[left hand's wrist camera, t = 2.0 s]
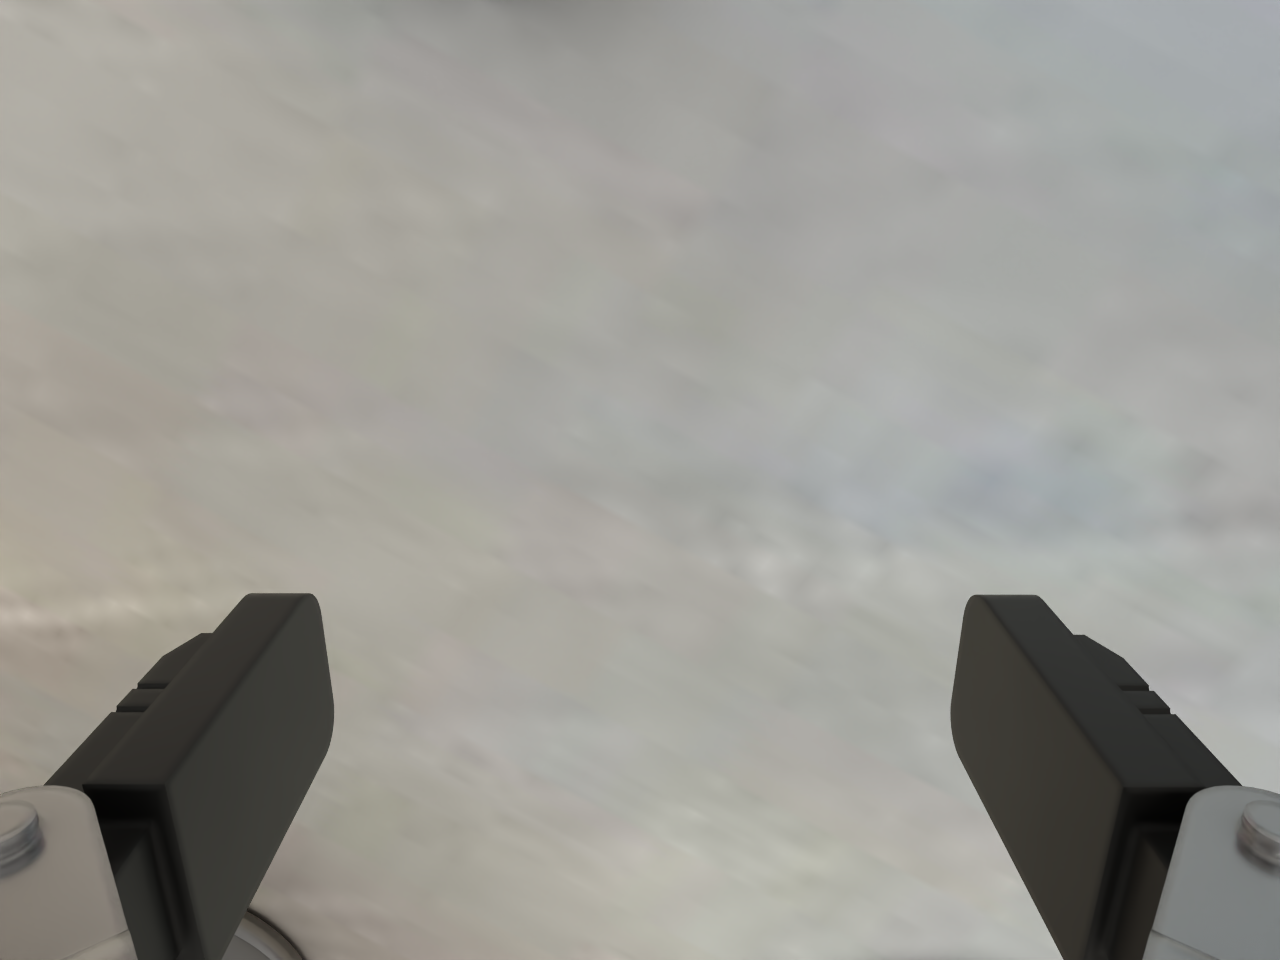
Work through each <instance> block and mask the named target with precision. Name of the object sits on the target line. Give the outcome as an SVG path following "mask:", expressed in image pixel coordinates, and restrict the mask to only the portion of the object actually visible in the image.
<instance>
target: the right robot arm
mask: <svg viewBox="0 0 1280 960" xmlns="http://www.w3.org/2000/svg"><path fill="white" fill-rule="evenodd" d="M222 960H303V959H302V958H301V956H300V955H299V954H298V952H297V951H296V950H295V949H294V948H293V946H292V945H291V944H290V943H289V942H288V941H287V940H286V939H285V938H284V937H283V936H282V935H281V934H280V933H279V932H277V931H276V930H275V929H274V928H272V927H271V926H270V925H268V924H267V923H265V922H264V921H262V920H261V919H260V918H258V917H256V916H255V915H253V914H251V913H249V912H248V911H246V912H245V914H244V916H243V918H242V920H241V922H240V924H239V926H238V928H237V930H236V932H235V934H234V936H233V938H232V940H231V942H230V944H229V946H228V948H227V950H226V952H225V954H224V956H223V958H222Z"/></svg>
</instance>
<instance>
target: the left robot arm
mask: <svg viewBox="0 0 1280 960" xmlns="http://www.w3.org/2000/svg"><path fill="white" fill-rule="evenodd" d="M333 723H334V701H333V693H332V686H331V679H330V672H329V665H328V658H327V651H326V644H325V637H324V630H323V623H322V616H321V610H320V606H319V603H318V601H317V599H316V597H315V596H314V595H313V594H310V593H251V594H248V595H246V596H245V597H244V598H243V599H242V600H241V601H240V602H239V603H238V604H237V606H236V607H235V608H234V609H233V610H232V611H231V613H230V614H229V615H228V616H227V617H226V618H225V619H224V621H223V622H222V623H221V624H220V625H219V626H218V628H217V629H216V630H215V631H214V632H213V633H201V634H199V635H198V636H196V637H194V638H193V639H191V640H189V641H188V642H186V643H184V644H183V645H181V646H179V647H178V648H176V649H174V650H173V651H171V652H169V653H168V654H166V655H164V656H163V657H162V658H161V659H160V660H159V661H158V662H157V663H156V664H155V665H154V666H153V667H152V669H151V670H150V671H149V672H148V673H147V674H146V675H145V676H144V677H143V678H142V679H141V680H140V682H139V683H138V687H137V689H132V690H131V691H130V692H129V693H128V695H127V696H126V697H125V698H124V699H123V700H122V701H121V702H120V703H119V704H118V705H117V710H116V712H111V713H110V714H109V715H108V716H107V717H106V718H105V719H104V721H103V722H102V723H101V724H100V725H99V726H98V727H97V728H96V729H95V730H94V731H93V732H92V734H91V735H90V736H89V737H88V738H87V739H86V740H85V741H84V742H83V743H82V744H81V745H80V747H79V748H78V749H77V750H76V751H75V752H74V753H73V754H72V755H71V756H70V757H69V758H68V759H67V761H66V762H65V763H64V764H63V765H62V766H61V767H60V768H59V769H58V770H57V771H56V772H55V774H54V775H53V776H52V777H51V778H50V779H49V780H48V781H47V782H46V783H45V784H44V785H43V786H35V787H28V788H23V789H18V790H13V791H10V792H6V793H3V794H0V960H222V958H223V956H224V954H225V952H226V950H227V948H228V946H229V944H230V942H231V940H232V938H233V936H234V934H235V932H236V930H237V928H238V926H239V924H240V922H241V920H242V918H243V916H244V914H245V912H246V911H247V909H248V907H249V905H250V903H251V901H252V899H253V897H254V895H255V893H256V891H257V889H258V887H259V885H260V883H261V881H262V879H263V877H264V875H265V873H266V871H267V869H268V867H269V865H270V864H271V862H272V860H273V858H274V856H275V854H276V852H277V850H278V848H279V846H280V844H281V842H282V840H283V838H284V836H285V834H286V832H287V830H288V828H289V826H290V824H291V822H292V820H293V818H294V816H295V815H296V813H297V811H298V809H299V807H300V805H301V803H302V801H303V799H304V797H305V795H306V793H307V791H308V789H309V787H310V785H311V783H312V781H313V779H314V777H315V775H316V773H317V771H318V769H319V768H320V766H321V764H322V762H323V760H324V758H325V756H326V753H327V751H328V748H329V745H330V741H331V737H332V731H333ZM951 728H952V735H953V740H954V744H955V748H956V751H957V753H958V756H959V758H960V760H961V762H962V764H963V766H964V768H965V770H966V771H967V773H968V775H969V777H970V779H971V781H972V783H973V785H974V787H975V789H976V791H977V793H978V795H979V797H980V799H981V801H982V802H983V804H984V806H985V808H986V810H987V812H988V814H989V816H990V818H991V820H992V822H993V824H994V826H995V828H996V830H997V831H998V833H999V835H1000V837H1001V839H1002V841H1003V843H1004V845H1005V847H1006V849H1007V851H1008V853H1009V855H1010V857H1011V859H1012V861H1013V862H1014V864H1015V866H1016V868H1017V870H1018V872H1019V874H1020V876H1021V878H1022V880H1023V882H1024V884H1025V886H1026V888H1027V890H1028V891H1029V893H1030V895H1031V897H1032V899H1033V901H1034V903H1035V905H1036V907H1037V909H1038V911H1039V913H1040V915H1041V917H1042V919H1043V921H1044V922H1045V924H1046V926H1047V928H1048V930H1049V932H1050V934H1051V936H1052V938H1053V940H1054V942H1055V944H1056V946H1057V948H1058V950H1059V952H1060V953H1061V955H1062V957H1063V959H1064V960H1280V794H1277V793H1274V792H1270V791H1267V790H1262V789H1257V788H1252V787H1245V786H1242V785H1241V784H1240V783H1239V782H1238V781H1237V780H1236V779H1235V778H1234V776H1233V775H1232V774H1231V773H1230V772H1229V771H1228V770H1227V769H1226V768H1225V767H1224V766H1223V765H1222V764H1221V763H1220V761H1219V760H1218V759H1217V758H1216V757H1215V756H1214V755H1213V754H1212V753H1211V752H1210V751H1209V750H1208V749H1207V747H1206V746H1205V745H1204V744H1203V743H1202V742H1201V741H1200V740H1199V739H1198V738H1197V737H1196V736H1195V735H1194V734H1193V732H1192V731H1191V730H1190V729H1189V728H1188V727H1187V726H1186V725H1185V724H1184V723H1183V722H1182V721H1181V720H1180V719H1179V717H1178V716H1177V715H1176V714H1171V713H1170V708H1169V707H1168V706H1167V705H1166V703H1165V702H1164V701H1163V700H1162V699H1161V698H1160V697H1159V696H1158V695H1157V694H1156V693H1155V692H1154V691H1149V685H1148V684H1147V683H1146V682H1145V681H1144V680H1143V679H1142V678H1141V677H1140V676H1139V675H1138V673H1137V672H1136V671H1135V670H1134V669H1133V668H1132V667H1131V666H1130V665H1129V664H1128V663H1127V662H1126V661H1125V659H1124V658H1122V657H1120V656H1119V655H1117V654H1115V653H1114V652H1112V651H1110V650H1109V649H1107V648H1105V647H1104V646H1102V645H1100V644H1099V643H1097V642H1095V641H1094V640H1092V639H1090V638H1089V637H1087V636H1085V635H1073V634H1072V633H1071V632H1070V630H1069V629H1068V628H1067V627H1066V626H1065V625H1064V624H1063V622H1062V621H1061V620H1060V619H1059V618H1058V617H1057V616H1056V614H1055V613H1054V612H1053V611H1052V610H1051V609H1050V608H1049V606H1048V605H1047V604H1046V603H1045V602H1044V601H1043V600H1042V599H1041V598H1040V597H1039V596H1037V595H973V596H972V597H971V598H970V599H969V600H968V602H967V605H966V608H965V611H964V617H963V623H962V630H961V637H960V644H959V651H958V658H957V665H956V672H955V679H954V686H953V693H952V700H951Z"/></svg>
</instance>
